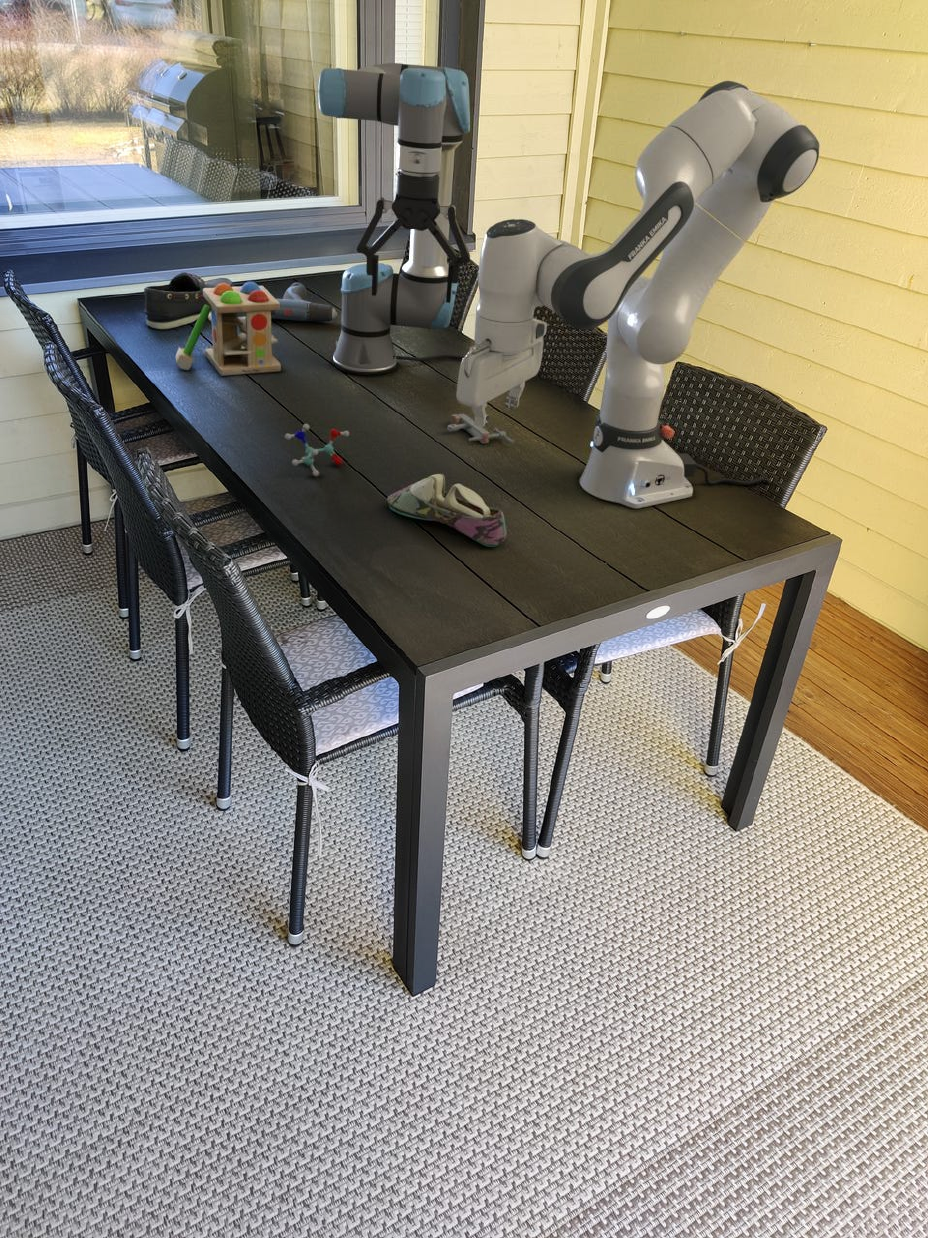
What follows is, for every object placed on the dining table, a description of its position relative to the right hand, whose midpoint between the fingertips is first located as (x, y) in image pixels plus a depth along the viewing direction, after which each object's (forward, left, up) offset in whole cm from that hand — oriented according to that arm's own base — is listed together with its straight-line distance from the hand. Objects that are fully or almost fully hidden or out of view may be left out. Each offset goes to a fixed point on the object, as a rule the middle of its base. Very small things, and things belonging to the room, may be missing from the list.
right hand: (496, 416), depth 159 cm
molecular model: (+23, -33, -23) cm, 46 cm away
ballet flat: (+5, -6, -23) cm, 24 cm away
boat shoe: (+36, -128, -23) cm, 135 cm away
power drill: (+7, -126, -23) cm, 128 cm away
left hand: (+5, -35, +9) cm, 36 cm away
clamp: (-13, -42, -23) cm, 49 cm away
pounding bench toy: (+33, -89, -23) cm, 97 cm away
